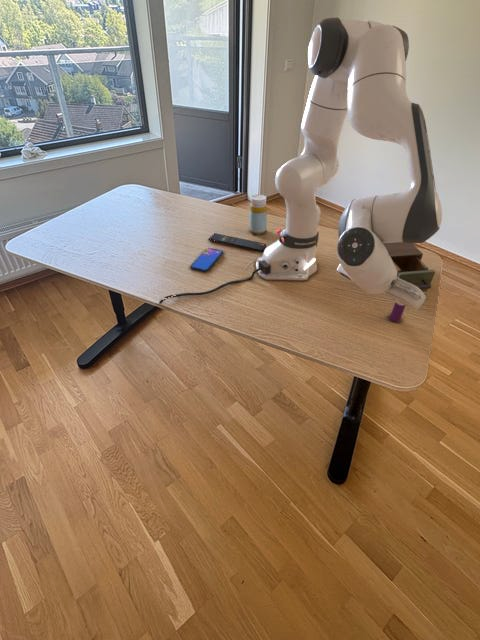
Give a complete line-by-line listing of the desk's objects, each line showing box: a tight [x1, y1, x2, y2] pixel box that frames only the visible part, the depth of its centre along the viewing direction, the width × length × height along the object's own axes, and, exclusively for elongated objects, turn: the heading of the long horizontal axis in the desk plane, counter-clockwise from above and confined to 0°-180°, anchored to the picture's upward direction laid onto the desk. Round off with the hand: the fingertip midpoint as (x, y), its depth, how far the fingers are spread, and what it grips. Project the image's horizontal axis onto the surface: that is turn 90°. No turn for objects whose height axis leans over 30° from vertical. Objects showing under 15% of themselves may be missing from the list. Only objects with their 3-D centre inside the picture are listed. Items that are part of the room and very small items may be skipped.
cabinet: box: [383, 242, 424, 261], centre depth 123 cm, size 15×13×10 cm
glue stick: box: [389, 300, 407, 323], centre depth 102 cm, size 3×3×8 cm
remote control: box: [208, 232, 267, 252], centre depth 141 cm, size 5×24×1 cm, turn 65°
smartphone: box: [190, 247, 224, 272], centre depth 132 cm, size 7×1×15 cm
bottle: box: [249, 194, 268, 236], centre depth 145 cm, size 7×7×15 cm
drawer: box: [392, 257, 436, 293], centre depth 114 cm, size 18×12×8 cm, turn 7°
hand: (387, 291), depth 88 cm, fingers open, 8 cm apart
